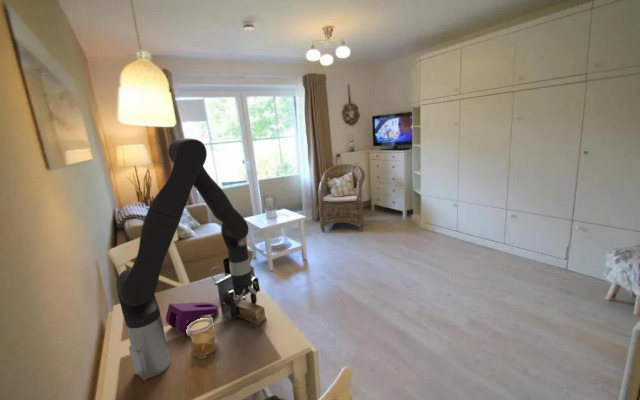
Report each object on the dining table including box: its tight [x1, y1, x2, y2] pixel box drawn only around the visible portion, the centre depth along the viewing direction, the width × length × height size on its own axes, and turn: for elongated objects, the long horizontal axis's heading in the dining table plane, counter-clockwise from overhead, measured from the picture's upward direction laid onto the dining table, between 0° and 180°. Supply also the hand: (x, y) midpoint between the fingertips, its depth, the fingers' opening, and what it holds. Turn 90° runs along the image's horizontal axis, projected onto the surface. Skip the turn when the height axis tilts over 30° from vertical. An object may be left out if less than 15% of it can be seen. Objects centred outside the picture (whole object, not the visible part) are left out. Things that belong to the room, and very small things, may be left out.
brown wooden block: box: [232, 299, 267, 325], centre depth 119 cm, size 4×16×5 cm, turn 56°
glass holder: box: [210, 256, 231, 283], centre depth 140 cm, size 9×14×15 cm, turn 124°
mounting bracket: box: [165, 301, 219, 335], centre depth 120 cm, size 9×8×18 cm
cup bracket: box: [214, 274, 247, 321], centre depth 123 cm, size 9×6×15 cm
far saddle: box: [249, 316, 268, 329], centre depth 117 cm, size 6×3×1 cm, turn 146°
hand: (246, 308), depth 119 cm, fingers open, 8 cm apart
